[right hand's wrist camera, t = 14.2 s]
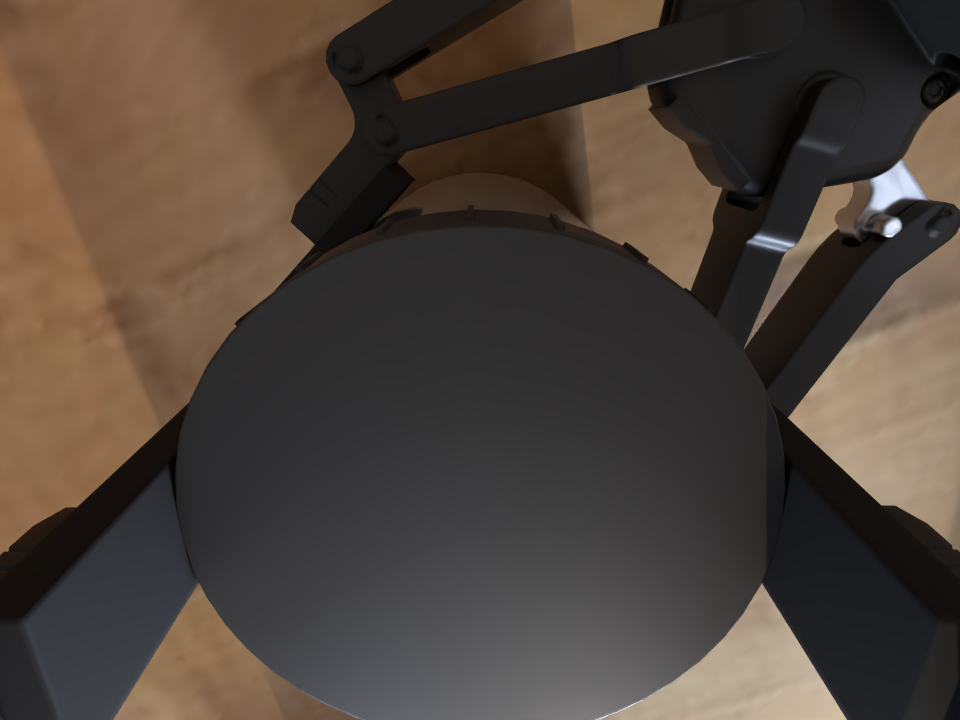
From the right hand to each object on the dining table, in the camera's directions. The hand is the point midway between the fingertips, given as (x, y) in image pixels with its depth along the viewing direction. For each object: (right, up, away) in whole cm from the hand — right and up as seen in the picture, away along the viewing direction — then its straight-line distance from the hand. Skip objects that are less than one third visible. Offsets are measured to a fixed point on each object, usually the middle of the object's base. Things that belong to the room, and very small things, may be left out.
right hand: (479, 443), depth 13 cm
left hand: (-3, -1, +7) cm, 7 cm away
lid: (0, -1, -3) cm, 3 cm away
